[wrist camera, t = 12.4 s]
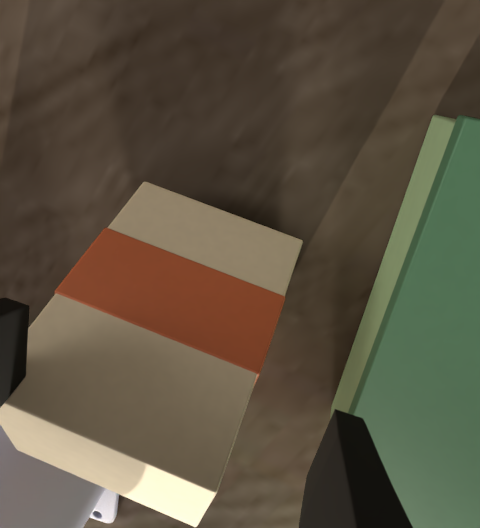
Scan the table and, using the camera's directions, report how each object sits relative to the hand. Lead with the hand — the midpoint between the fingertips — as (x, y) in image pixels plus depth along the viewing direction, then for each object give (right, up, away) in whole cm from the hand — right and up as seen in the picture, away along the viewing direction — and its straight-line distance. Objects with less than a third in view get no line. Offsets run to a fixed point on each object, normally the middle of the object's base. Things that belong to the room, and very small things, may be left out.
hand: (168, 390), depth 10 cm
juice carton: (+1, +3, +7) cm, 8 cm away
